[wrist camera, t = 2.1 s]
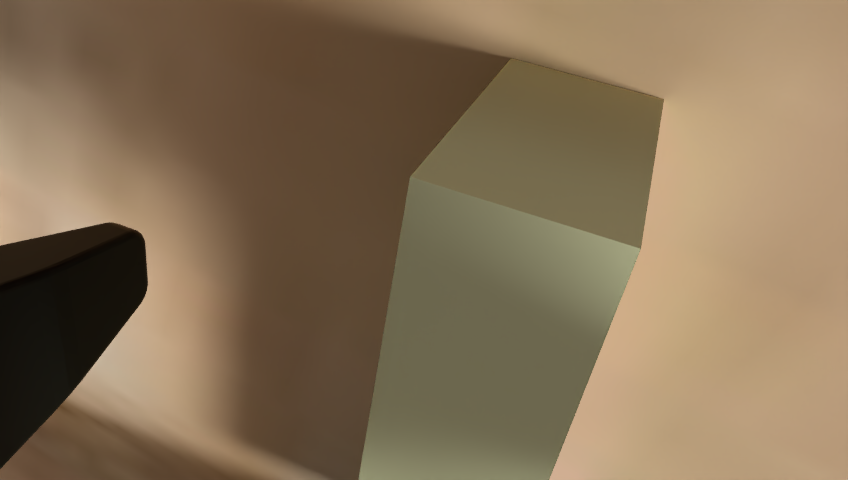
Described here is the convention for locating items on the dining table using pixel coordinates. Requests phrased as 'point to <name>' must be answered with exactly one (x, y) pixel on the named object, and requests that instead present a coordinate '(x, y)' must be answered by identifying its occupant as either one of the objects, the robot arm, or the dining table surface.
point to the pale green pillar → (509, 276)
